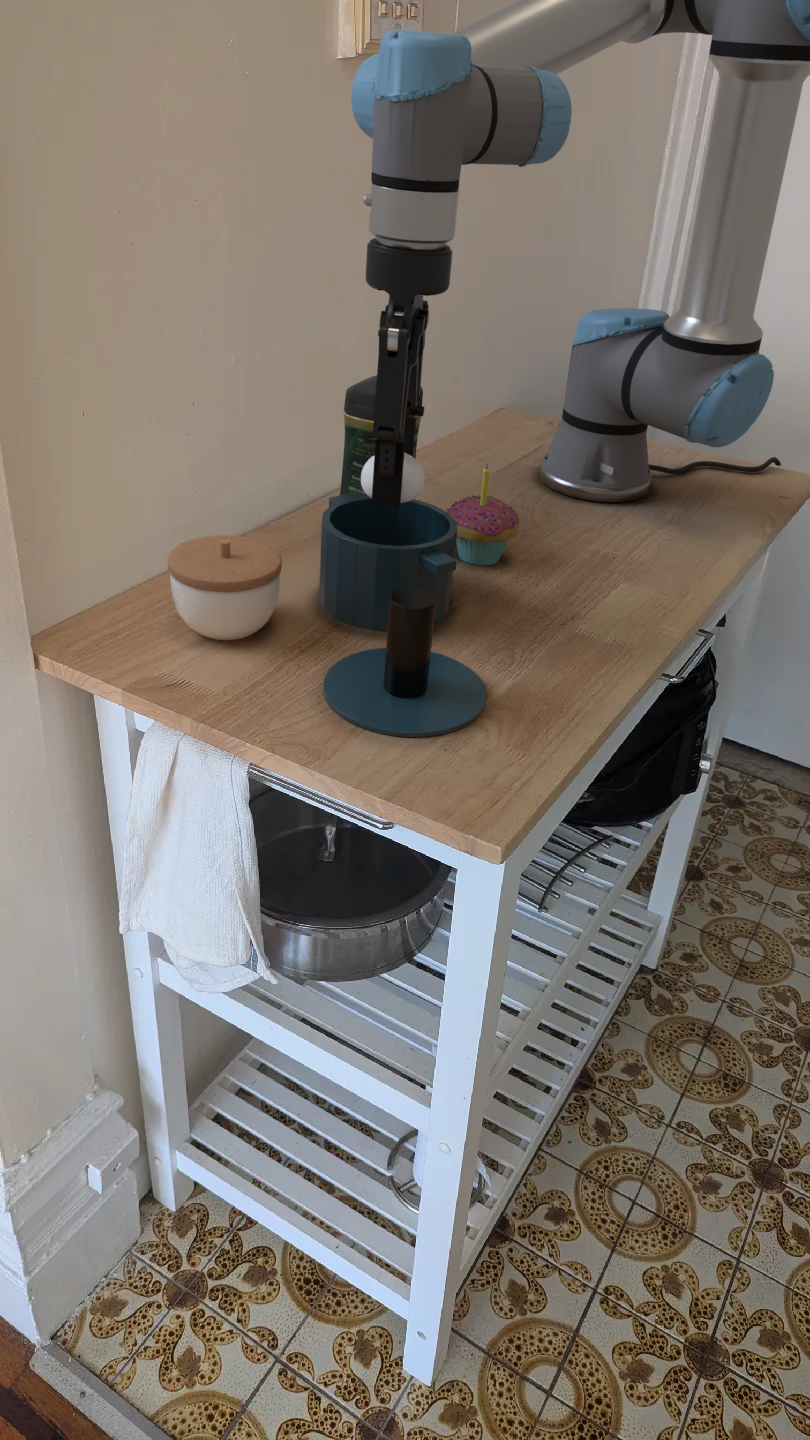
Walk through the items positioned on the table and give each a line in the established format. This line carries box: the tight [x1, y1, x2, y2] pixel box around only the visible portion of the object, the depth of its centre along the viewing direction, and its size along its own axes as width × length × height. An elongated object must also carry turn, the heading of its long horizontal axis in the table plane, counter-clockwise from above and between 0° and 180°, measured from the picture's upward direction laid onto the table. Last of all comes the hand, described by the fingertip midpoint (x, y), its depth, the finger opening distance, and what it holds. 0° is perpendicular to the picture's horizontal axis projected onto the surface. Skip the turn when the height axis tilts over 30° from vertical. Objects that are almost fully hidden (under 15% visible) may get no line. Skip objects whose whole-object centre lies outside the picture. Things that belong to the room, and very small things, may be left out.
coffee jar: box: [339, 374, 424, 498], centre depth 123 cm, size 10×8×19 cm
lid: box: [322, 588, 487, 738], centre depth 94 cm, size 15×15×10 cm
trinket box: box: [167, 534, 283, 641], centre depth 102 cm, size 11×11×9 cm
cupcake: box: [446, 462, 520, 566], centre depth 121 cm, size 9×8×12 cm
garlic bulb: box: [361, 452, 426, 503], centre depth 103 cm, size 6×6×8 cm
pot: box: [318, 494, 458, 632], centre depth 109 cm, size 14×19×10 cm
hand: (391, 492), depth 105 cm, fingers closed on garlic bulb, 6 cm apart
